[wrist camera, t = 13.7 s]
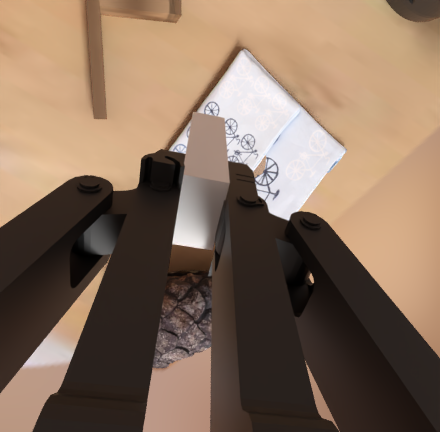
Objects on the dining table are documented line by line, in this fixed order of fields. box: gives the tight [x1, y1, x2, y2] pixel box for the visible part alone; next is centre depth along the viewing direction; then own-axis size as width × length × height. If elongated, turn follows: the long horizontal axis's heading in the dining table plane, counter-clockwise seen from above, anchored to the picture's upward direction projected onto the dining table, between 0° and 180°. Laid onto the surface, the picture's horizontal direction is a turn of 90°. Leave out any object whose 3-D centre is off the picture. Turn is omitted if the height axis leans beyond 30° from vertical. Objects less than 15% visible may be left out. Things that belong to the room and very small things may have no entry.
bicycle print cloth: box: [169, 49, 347, 220], centre depth 44 cm, size 19×20×2 cm
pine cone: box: [152, 270, 212, 368], centre depth 42 cm, size 10×18×10 cm, turn 98°
